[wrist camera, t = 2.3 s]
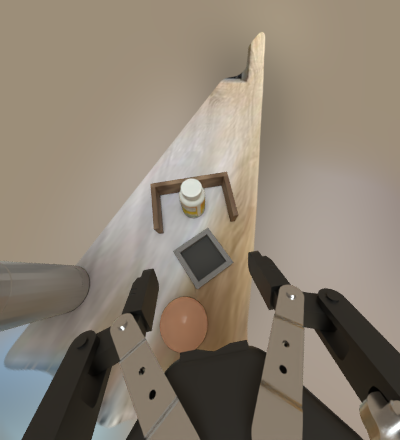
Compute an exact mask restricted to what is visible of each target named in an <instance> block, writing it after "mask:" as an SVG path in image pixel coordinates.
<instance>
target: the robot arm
mask: <svg viewBox="0 0 400 440" xmlns="http://www.w3.org/2000/svg"><path fill="white" fill-rule="evenodd" d="M248 268H249V272H250V274H251V276H252V278H253V280H254V282H255V284H256V286H257V288H258V289H259V291H260V293H261V295H262V297H263V299H264V301H265V303H266V305H267V307H268V309H269V310H273V309H274V310H275V315H274V318H273V323H272V328H271V333H270V338H269V344H268V348H267V353H266V352H264V351H263V350H261V349H259V348H256V347H253V346H248V343H247V340H244V341H239V342H233V343H230V344H228V345H226V346H224V347H222V348H220V349H219V350H217V351H205V350H197V349H196V350H191V351H185V352H180V359H178V360H177V361H175V362H174V363H173V364H172V365H171V366H170V367H169V368H168V369H167V370H166V371H165V373H164V372H163V370H162V368H161V366H160V365H159V363H158V361H157V359H156V357H155V355H154V354H153V352H152V350H151V348H150V346H149V344H148V343H147V341H146V339H145V335H146V332H149V331H152V325H153V320H154V314H155V308H156V302H157V297H158V291H159V283H158V280H157V277H156V274H155V271H154V269H148V270H144V271H143V273H142V276H141V277H140V278H137V279H136V280H135V282H134V283H133V285H132V288H131V291H130V293H129V296H128V299H127V301H126V304H125V307H124V309H123V312H122V315H121V316H119V317H118V318H117V319H116V320H115V321H114V322H113V323H112V325H111V327H109V328H107V329H105V330H103V331H101V332H99V333H97V334H96V333H95V332H94V331H92V330H89V331H86V332H84V333H82V334H80V335H79V336H78V337H77V338H76V339H75V340H74V341H73V342H72V344H71V345H70V347H69V349H68V351H67V353H66V355H65V357H64V359H63V361H62V363H61V364H60V366H59V368H58V370H57V372H56V374H55V376H54V378H53V380H52V382H51V384H50V386H49V388H48V390H47V392H46V393H45V395H44V397H43V399H42V401H41V403H40V405H39V407H38V409H37V411H36V413H35V415H34V417H33V418H32V420H31V422H30V424H29V426H28V428H27V430H26V432H25V434H24V436H23V438H22V440H91V439H92V436H93V432H94V428H95V425H96V421H97V418H98V414H99V411H100V407H101V403H102V400H103V396H104V393H105V389H106V386H107V382H108V378H109V375H110V371H111V368H112V366H113V365H115V364H116V363H118V362H119V364H120V368H121V370H122V373H123V376H124V379H125V382H126V385H127V388H128V391H129V394H130V397H131V399H132V402H133V405H134V408H135V411H136V414H137V417H138V419H137V421H136V423H135V424H134V426H133V428H132V430H131V432H130V433H129V435H128V437H127V438H126V440H363V439H362V438H361V437H360V436H359V435H358V434H357V433H356V432H355V431H353V429H351V428H350V427H349V426H348V425H347V424H346V423H345V422H343V420H341V419H340V418H339V417H338V416H337V415H336V414H335V413H333V412H332V411H331V410H330V409H329V408H328V407H327V406H326V405H325V404H323V403H322V402H321V401H320V400H319V399H318V398H317V397H316V396H315V395H313V394H312V393H311V392H310V391H309V390H308V389H307V388H305V387H304V386H303V360H304V327H307V328H313V329H315V331H316V333H317V334H318V335H319V337H320V339H321V340H322V342H323V343H324V345H325V346H326V348H327V349H328V351H329V353H330V354H331V356H332V357H333V359H334V360H335V362H336V363H337V365H338V366H339V368H340V369H341V371H342V373H343V374H344V376H345V377H346V379H347V380H348V382H349V383H350V385H351V386H352V388H353V390H354V391H355V392H356V394H357V396H358V397H359V398H360V400H361V402H362V404H361V405H360V409H359V411H360V416H361V419H362V422H363V424H364V426H365V428H366V429H367V432H368V435H369V438H370V440H400V353H399V352H398V351H397V350H396V349H395V348H394V347H393V346H392V345H391V344H390V343H389V342H388V341H387V340H386V339H385V338H384V337H383V336H382V335H381V334H380V333H379V332H378V331H377V330H376V329H375V328H374V327H373V326H372V325H371V324H370V323H369V322H368V321H367V319H365V317H364V316H362V314H360V312H359V311H358V310H357V309H356V308H355V307H354V306H353V305H352V304H351V303H350V302H349V301H348V300H347V299H346V298H345V297H344V296H343V295H342V294H340V293H338V292H337V291H335V290H332V289H325V288H324V289H321V290H319V292H318V294H315V293H306V292H302V291H301V290H300V289H298V288H297V287H295V286H293V285H291V284H290V283H289V282H288V281H287V279H286V278H285V277H284V275H283V274H282V273H281V272H280V270H279V269H278V268H277V266H276V265H275V264H274V262H273V261H272V260H271V259H270V258H268V257H267V256H261V254H260V253H259V252H258V251H253V252H249V253H248ZM88 290H89V277H88V274H87V273H86V271H85V270H84V269H83V268H81V267H79V266H72V265H57V264H40V263H22V262H5V261H0V331H4V330H7V329H11V328H14V327H18V326H21V325H24V324H28V323H32V322H35V321H39V320H42V319H46V318H50V317H53V316H57V315H60V314H64V313H67V312H70V311H72V310H74V309H75V308H77V307H78V306H79V305H80V304H81V303H82V302H83V300H84V299H85V297H86V295H87V293H88Z"/></svg>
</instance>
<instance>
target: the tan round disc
mask: <svg viewBox="0 0 400 440" xmlns="http://www.w3.org/2000/svg"><path fill="white" fill-rule="evenodd" d="M207 326H208V325H207V315H206V312H205V310H204V308H203V306H202V305H201V304H200V303H199V302H198V301H197V300H195V299H193V298H191V297H179V298H177V299H175V300H173V301H172V302H170V303H169V304H168V305H167V307H166V308H165V309H164V311H163V313H162V316H161V320H160V332H161V336H162V338H163V340H164V342H165V343H166V345H167V346H168V347H169V348H170V349H172V350H174V351H176V352H185V351H191V350H194V349H196V348H197V347H198V346H199V345H200V344H201V343H202V341H203V340H204V338H205V336H206V332H207Z"/></svg>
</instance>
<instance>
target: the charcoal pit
mask: <svg viewBox="0 0 400 440" xmlns="http://www.w3.org/2000/svg"><path fill="white" fill-rule="evenodd" d="M173 252H174V253H175V255H176V257H177V258H178V260H179V261H180V263H181V265H182V266H183V268H184V269H185V271H186V273H187V274H188V276H189V277H190V279H191V281H192V282H193V284H194V285H195V287H196V289H199V288H200V287H201V286H203V285H204V284H205V283H207V282H208V281H209V280H211V279H212V278H213V277H215V276H216V275H217V274H219V273H220V272H221V271H223V270H224V269H225V268H227V267H228V266H229V265H231V264H232V263H233V261H232V260H231V258H230V257H229V256H228V254H227V253H226V252H225V250H224V249H223V248H222V246H221V245H220V243H219V242H218V241H217V239H216V238H215V237H214V235H213V234H212V233H211V231H210V230H209V228H207V229H205V230H204V231H202V232H201V233H199V234H198V235H196V236H195V237H194V238H192V239H191V240H189V241H188V242H186V243H185V244H183V245H182V246H180V247H179V248H177V249H176V250H174V251H173Z"/></svg>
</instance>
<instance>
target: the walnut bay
mask: <svg viewBox="0 0 400 440" xmlns="http://www.w3.org/2000/svg"><path fill="white" fill-rule="evenodd" d="M187 179H196V180H198V181H199V182H200V183H201V185H202V188H208V187H214V186H220V185H222V188H223V192H224V196H225V201H226V205H227V209H228V213H229V217H230V221H231V222H232V221H235V220H236V218H237V216H238V212H237V208H236V204H235V200H234V197H233V193H232V189H231V185H230V182H229V178H228V174H227V172H223V173H216V174H210V175H204V176H197V177H191V178H184V179H178V180H172V181H165V182H159V183H153V184H151V196H152V210H153V224H154V230H156V231H157V232H158V233H159V234H160V233H163V223H162V213H161V202H160V195H164V194H170V193H177V192H180V190H181V185H182V183H183V182H184V181H185V180H187Z"/></svg>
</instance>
